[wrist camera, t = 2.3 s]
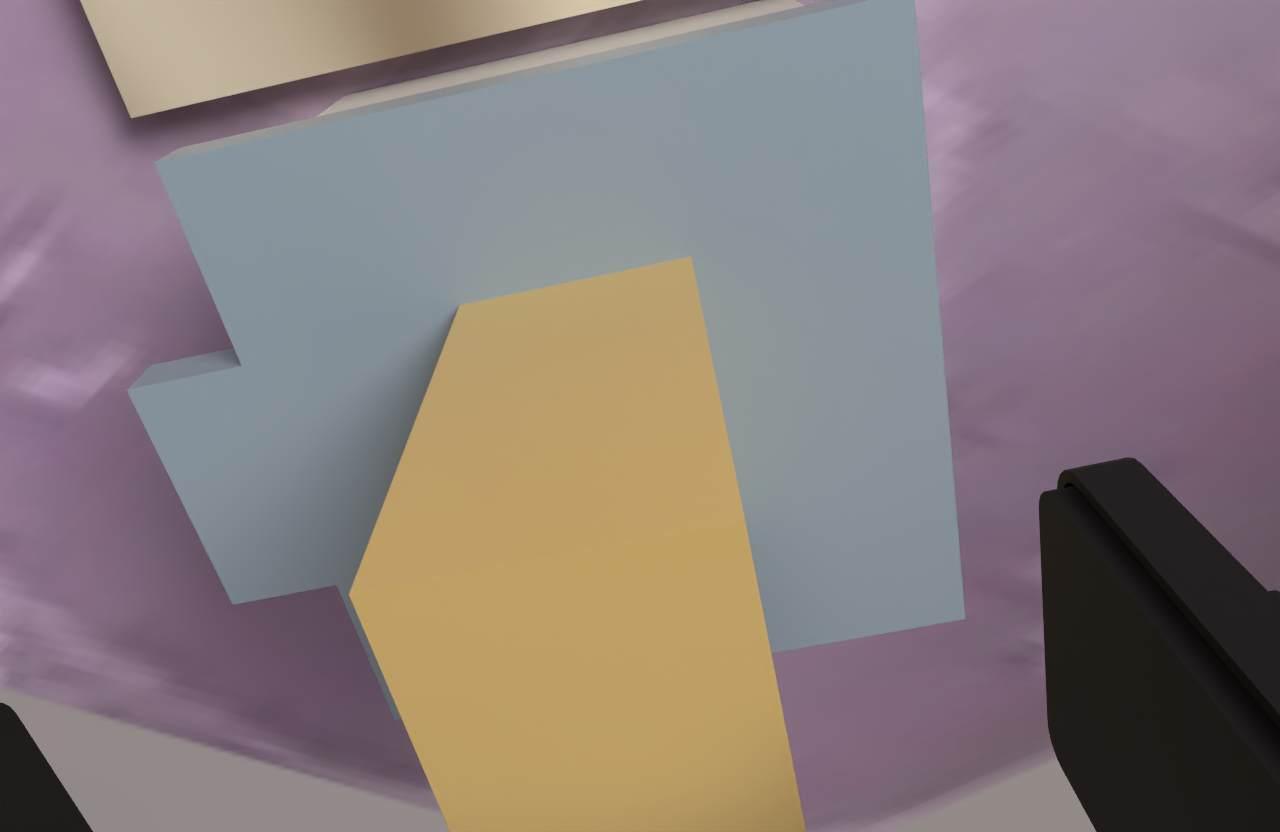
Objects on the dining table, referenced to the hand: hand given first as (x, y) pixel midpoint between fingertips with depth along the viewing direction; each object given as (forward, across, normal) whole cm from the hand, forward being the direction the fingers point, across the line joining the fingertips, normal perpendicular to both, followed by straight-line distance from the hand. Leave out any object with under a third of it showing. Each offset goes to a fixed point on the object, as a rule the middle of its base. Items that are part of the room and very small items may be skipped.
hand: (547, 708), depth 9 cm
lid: (+6, -1, 0) cm, 6 cm away
